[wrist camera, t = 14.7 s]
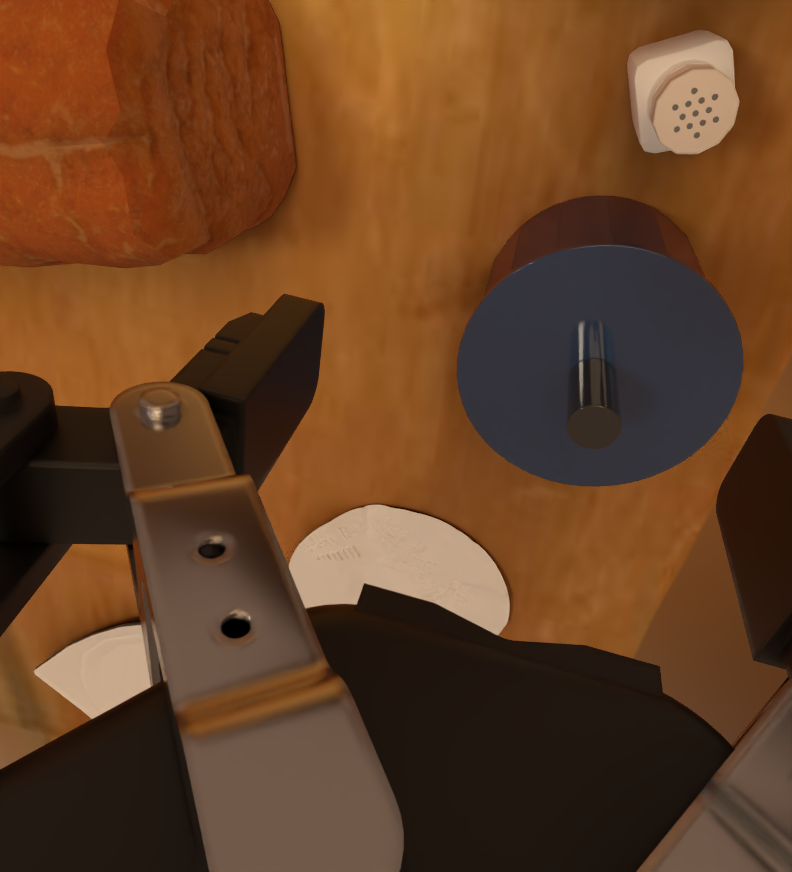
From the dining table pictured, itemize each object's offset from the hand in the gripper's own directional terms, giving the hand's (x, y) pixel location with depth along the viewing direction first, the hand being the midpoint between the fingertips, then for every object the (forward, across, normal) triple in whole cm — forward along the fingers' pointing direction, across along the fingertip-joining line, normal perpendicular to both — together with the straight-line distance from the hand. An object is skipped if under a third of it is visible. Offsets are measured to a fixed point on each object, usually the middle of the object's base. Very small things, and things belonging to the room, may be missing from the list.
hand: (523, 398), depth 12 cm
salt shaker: (+30, -5, -2) cm, 31 cm away
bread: (+30, +28, +5) cm, 42 cm away
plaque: (+30, +3, +41) cm, 51 cm away
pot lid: (+21, -5, +10) cm, 23 cm away
